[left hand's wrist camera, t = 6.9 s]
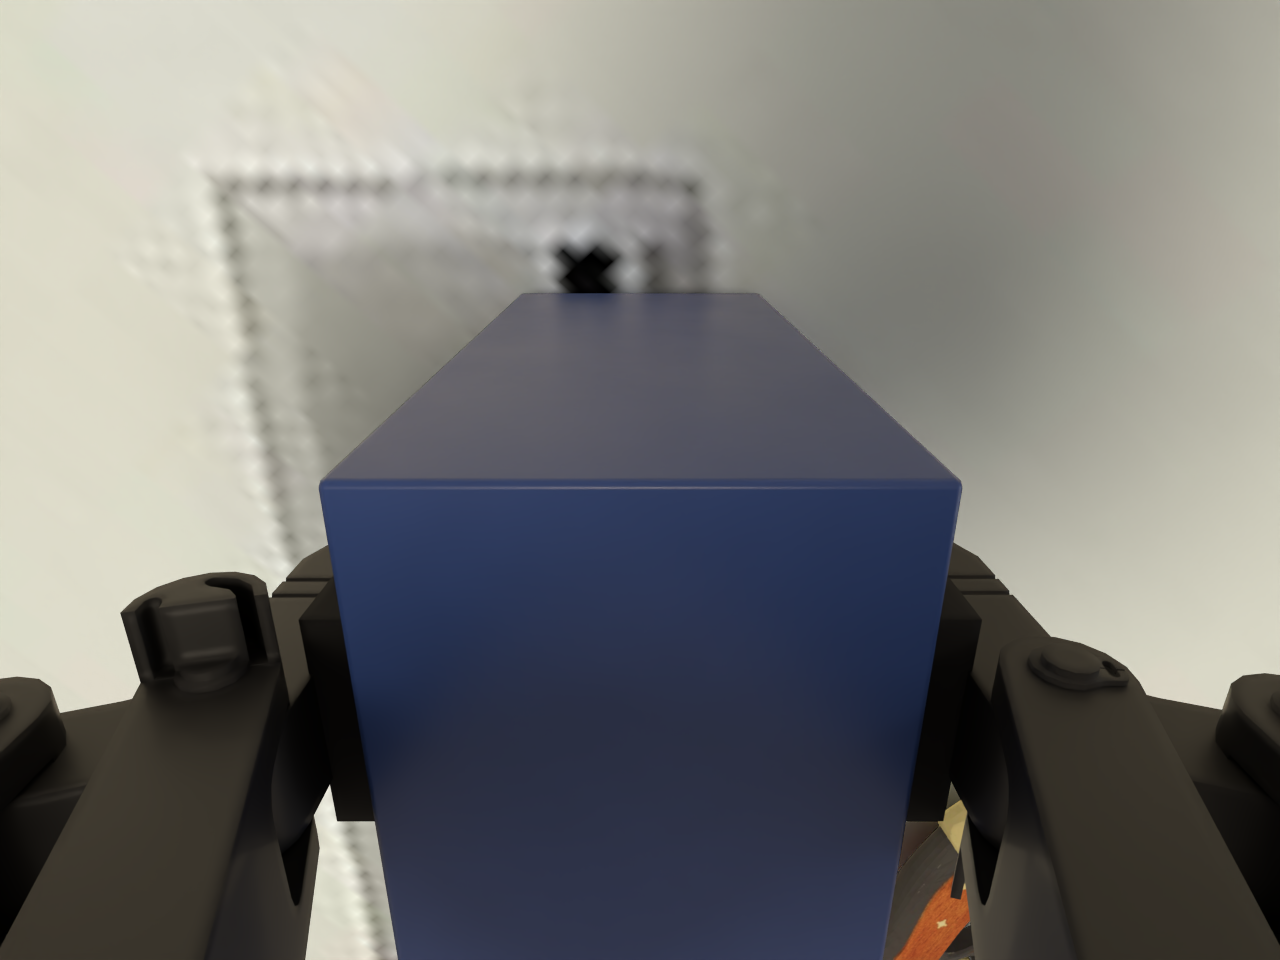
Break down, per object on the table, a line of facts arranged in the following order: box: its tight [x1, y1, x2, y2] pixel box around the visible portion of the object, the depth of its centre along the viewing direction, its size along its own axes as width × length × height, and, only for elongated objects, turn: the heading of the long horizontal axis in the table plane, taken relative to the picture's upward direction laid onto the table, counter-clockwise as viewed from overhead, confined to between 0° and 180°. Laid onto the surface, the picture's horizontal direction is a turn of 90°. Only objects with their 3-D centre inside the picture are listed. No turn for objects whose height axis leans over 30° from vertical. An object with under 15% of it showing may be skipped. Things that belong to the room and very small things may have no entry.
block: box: [319, 293, 962, 960], centre depth 13 cm, size 6×6×12 cm
